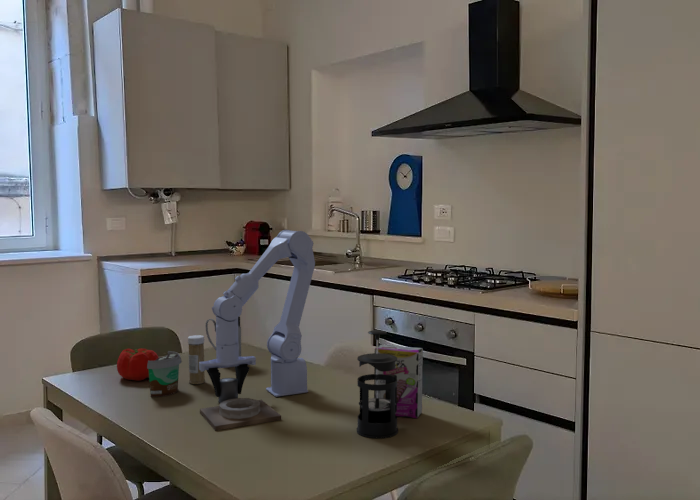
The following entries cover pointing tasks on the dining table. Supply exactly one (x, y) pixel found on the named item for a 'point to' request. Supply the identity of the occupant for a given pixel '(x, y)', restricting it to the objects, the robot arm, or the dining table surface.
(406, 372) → the candy bar box
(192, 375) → the sprinkles bottle
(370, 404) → the french press
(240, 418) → the collar
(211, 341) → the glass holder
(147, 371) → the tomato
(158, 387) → the food container
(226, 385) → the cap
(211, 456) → the dining table surface
